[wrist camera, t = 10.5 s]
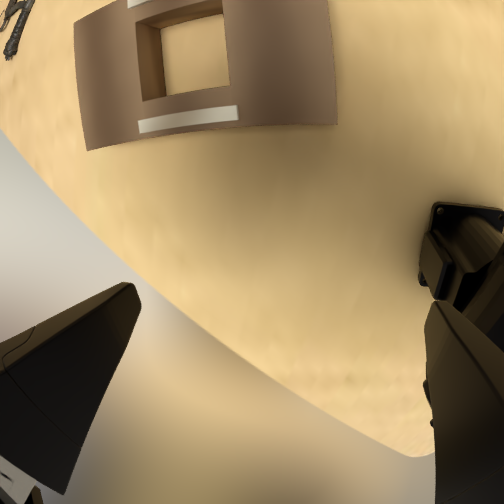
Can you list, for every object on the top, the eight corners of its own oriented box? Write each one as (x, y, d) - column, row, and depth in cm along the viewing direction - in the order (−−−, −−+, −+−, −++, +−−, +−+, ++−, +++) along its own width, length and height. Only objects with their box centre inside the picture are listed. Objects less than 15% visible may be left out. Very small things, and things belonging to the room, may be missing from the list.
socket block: (320, -25, 11) (318, -47, 8) (334, 120, 16) (337, 125, 13) (100, 26, 14) (70, 22, 12) (112, 142, 19) (84, 152, 17)
